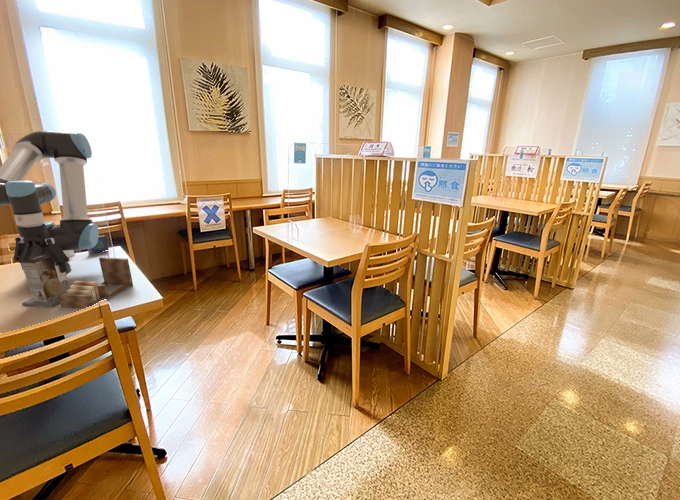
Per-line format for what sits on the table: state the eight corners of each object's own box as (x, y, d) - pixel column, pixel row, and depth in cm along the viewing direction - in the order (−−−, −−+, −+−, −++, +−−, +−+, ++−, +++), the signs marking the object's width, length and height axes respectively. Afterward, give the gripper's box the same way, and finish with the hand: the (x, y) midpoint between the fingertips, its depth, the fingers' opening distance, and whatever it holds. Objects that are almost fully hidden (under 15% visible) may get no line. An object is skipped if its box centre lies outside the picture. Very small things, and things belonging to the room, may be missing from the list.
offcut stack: (70, 304, 121) (65, 285, 119) (80, 299, 125) (75, 280, 123) (91, 306, 120) (86, 286, 118) (100, 300, 124) (96, 281, 122)
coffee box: (57, 290, 130) (46, 252, 125) (70, 292, 129) (60, 254, 124) (32, 301, 121) (20, 260, 116) (47, 302, 120) (35, 262, 115)
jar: (73, 252, 177) (68, 231, 174) (75, 256, 172) (70, 234, 168) (52, 256, 171) (46, 234, 168) (53, 260, 166) (47, 237, 162)
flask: (89, 255, 174) (85, 236, 170) (88, 254, 175) (83, 235, 172) (109, 251, 180) (105, 232, 177) (107, 250, 182) (103, 231, 179)
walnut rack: (61, 306, 119) (53, 276, 116) (107, 283, 140) (101, 257, 136) (91, 308, 118) (84, 278, 115) (133, 284, 138) (127, 258, 135)
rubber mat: (22, 305, 120) (21, 302, 120) (53, 291, 131) (52, 289, 131) (52, 307, 119) (51, 304, 119) (80, 293, 130) (79, 290, 130)
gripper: (-12, 225, 114) (6, 281, 120) (53, 228, 111) (68, 285, 118) (11, 221, 121) (27, 273, 127) (72, 223, 118) (85, 277, 125)
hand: (47, 279), depth 123 cm, fingers open, 13 cm apart
